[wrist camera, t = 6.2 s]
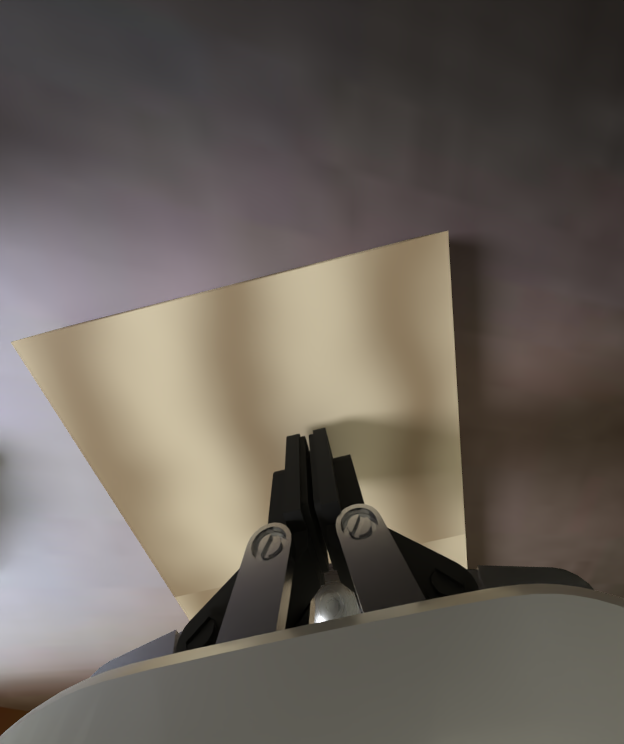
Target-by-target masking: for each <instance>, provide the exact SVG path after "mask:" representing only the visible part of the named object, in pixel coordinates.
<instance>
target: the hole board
mask: <svg viewBox="0 0 624 744" xmlns="http://www.w3.org/2000/svg"><path fill="white" fill-rule="evenodd" d="M11 343H12V345H13V346H14V348H15V350H16V351H17V353H18V354H19V356H20V357H21V359H22V360H23V362H24V364H25V365H26V367H27V368H28V370H29V371H30V373H31V374H32V376H33V378H34V379H35V381H36V382H37V384H38V385H39V387H40V388H41V390H42V392H43V393H44V395H45V396H46V398H47V399H48V401H49V402H50V404H51V406H52V407H53V409H54V410H55V412H56V413H57V415H58V416H59V418H60V419H61V421H62V423H63V424H64V426H65V427H66V429H67V430H68V432H69V433H70V435H71V437H72V438H73V440H74V441H75V443H76V444H77V446H78V447H79V449H80V451H81V452H82V454H83V455H84V457H85V458H86V460H87V461H88V463H89V465H90V466H91V468H92V469H93V471H94V472H95V474H96V475H97V477H98V479H99V480H100V482H101V483H102V485H103V486H104V488H105V489H106V491H107V493H108V494H109V496H110V497H111V499H112V500H113V502H114V503H115V505H116V507H117V508H118V510H119V511H120V513H121V514H122V516H123V517H124V519H125V521H126V522H127V524H128V525H129V527H130V528H131V530H132V531H133V533H134V535H135V536H136V538H137V539H138V541H139V542H140V544H141V545H142V547H143V549H144V550H145V552H146V553H147V555H148V556H149V558H150V559H151V561H152V563H153V564H154V566H155V567H156V569H157V570H158V572H159V573H160V575H161V577H162V578H163V580H164V581H165V583H166V584H167V586H168V587H169V589H170V591H171V592H172V594H173V595H174V597H175V598H176V600H177V601H178V603H179V605H180V606H181V608H182V609H183V611H184V612H185V614H186V615H187V617H188V619H189V620H191V619H192V618H193V617H194V616H195V615H196V614H197V613H198V612H199V611H200V610H201V609H202V607H203V606H204V605H205V604H206V603H207V602H208V601H209V600H210V599H211V598H212V597H213V596H214V595H215V594H216V593H217V592H218V591H219V590H220V589H221V587H222V586H223V585H224V584H225V583H226V582H227V581H228V580H229V579H230V578H231V577H232V576H233V575H234V574H235V573H236V572H237V571H238V570H239V569H240V565H241V562H242V559H243V556H244V553H245V550H246V547H247V544H248V542H249V540H250V538H251V536H252V535H253V534H254V533H255V532H256V531H257V530H258V529H259V528H261V527H262V526H264V525H266V524H268V516H269V507H270V498H271V488H272V479H273V473H274V472H275V471H280V470H284V469H285V454H286V437H287V436H291V435H295V434H300V436H301V437H302V436H305V437H306V440H307V444H308V447H309V435H310V434H313V430H316V429H321V428H326V432H327V436H328V440H329V443H330V447H331V451H332V455H333V458H336V457H341V456H345V455H349V454H350V455H351V458H352V462H353V465H354V469H355V472H356V476H357V479H358V483H359V486H360V490H361V493H362V497H363V500H364V504H366V505H369V506H372V507H373V508H375V509H376V510H377V511H378V512H379V514H380V515H381V517H382V519H383V520H384V522H385V524H386V526H387V528H389V529H391V530H393V531H395V532H397V533H399V534H401V535H403V536H405V537H407V538H409V539H411V540H413V541H415V542H417V543H419V544H421V545H423V546H425V547H427V548H429V549H431V550H433V551H435V552H437V553H439V554H441V555H443V556H445V557H447V558H449V559H451V560H453V561H455V562H457V563H458V564H460V565H461V566H463V567H464V568H466V569H467V553H466V535H465V518H464V500H463V483H462V466H461V448H460V431H459V413H458V396H457V378H456V361H455V344H454V326H453V309H452V291H451V274H450V256H449V239H448V231H445V232H440V233H435V234H430V235H426V236H421V237H417V238H413V239H409V240H405V241H401V242H397V243H393V244H389V245H385V246H381V247H377V248H373V249H369V250H365V251H362V252H358V253H354V254H350V255H346V256H342V257H338V258H334V259H330V260H326V261H322V262H318V263H314V264H311V265H307V266H303V267H299V268H295V269H291V270H287V271H283V272H279V273H275V274H271V275H267V276H263V277H260V278H256V279H252V280H248V281H244V282H240V283H236V284H232V285H228V286H224V287H220V288H216V289H212V290H208V291H205V292H201V293H197V294H193V295H189V296H185V297H181V298H177V299H173V300H169V301H165V302H161V303H157V304H154V305H150V306H146V307H142V308H138V309H134V310H130V311H126V312H122V313H118V314H114V315H110V316H106V317H103V318H99V319H95V320H91V321H87V322H83V323H79V324H75V325H71V326H67V327H63V328H60V329H56V330H52V331H49V332H45V333H42V334H38V335H35V336H31V337H27V338H24V339H20V340H17V341H13V342H11ZM309 451H310V448H309ZM327 552H328V550H327ZM328 561H329V564H330V563H331V560H330V557H329V553H328Z"/></svg>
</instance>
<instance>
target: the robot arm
mask: <svg viewBox="0 0 624 744" xmlns="http://www.w3.org/2000/svg"><path fill="white" fill-rule="evenodd" d="M309 448H310V451H309ZM327 550H328V552H327ZM328 553H329V557H330V560H331V563H332V566H333V569H334V571H336V570H337V573H338V576H339V579H340V583H342V584H343V585H344V586H346V587H347V588H349V589H350V590H351V591H353V592H354V595H355V598H356V601H357V604H358V607H359V611H360V614H356V615H351V616H347V617H342V618H337V619H332V620H327V621H323V622H318V623H314V618H315V598H314V596H315V595H316V593H317V592H318V590H319V589H320V587H321V585H325V576H324V573H327V572H329V561H328ZM0 744H624V598H621V597H618V596H615V595H611V594H608V593H604V592H600V591H596V590H594V589H593V588H592V587H591V586H590V585H589V584H588V583H587V582H586V581H584V580H583V579H582V578H580V577H579V576H577V575H575V574H573V573H571V572H569V571H566V570H563V569H558V568H550V567H515V566H480V565H477V569H466V568H464V567H463V566H461V565H460V564H458V563H457V562H455V561H453V560H451V559H449V558H447V557H445V556H443V555H441V554H439V553H437V552H435V551H433V550H431V549H429V548H427V547H425V546H423V545H421V544H419V543H417V542H415V541H413V540H411V539H409V538H407V537H405V536H403V535H401V534H399V533H397V532H395V531H393V530H391V529H389V528H387V526H386V524H385V522H384V520H383V519H382V517H381V515H380V514H379V512H378V511H377V510H376V509H375V508H373V507H372V506H369V505H366V504H364V500H363V497H362V493H361V490H360V486H359V483H358V479H357V476H356V472H355V469H354V465H353V462H352V458H351V455H350V454H349V455H345V456H341V457H336V458H333V455H332V451H331V447H330V443H329V440H328V436H327V432H326V428H321V429H316V430H313V434H310V435H309V447H308V444H307V440H306V437H305V436H302V437H301V436H300V434H295V435H291V436H287V437H286V454H285V469H284V470H280V471H275V472H274V473H273V479H272V488H271V498H270V507H269V516H268V524H266V525H264V526H262V527H261V528H259V529H258V530H257V531H256V532H255V533H254V534H253V535H252V536H251V538H250V540H249V542H248V544H247V547H246V550H245V553H244V556H243V559H242V562H241V565H240V569H239V570H238V571H237V572H236V573H235V574H234V575H233V576H232V577H231V578H230V579H229V580H228V581H227V582H226V583H225V584H224V585H223V586H222V587H221V589H220V590H219V591H218V592H217V593H216V594H215V595H214V596H213V597H212V598H211V599H210V600H209V601H208V602H207V603H206V604H205V605H204V606H203V607H202V609H201V610H200V611H199V612H198V613H197V614H196V615H195V616H194V617H193V618H192V619H191V620H190V621H189V623H188V624H187V625H186V627H185V628H184V630H183V631H182V632H180V633H178V632H177V630H174V631H172V632H170V633H168V634H166V635H164V636H162V637H160V638H158V639H155V640H153V641H151V642H149V643H147V644H145V645H143V646H141V647H139V648H136V649H134V650H132V651H130V652H128V653H126V654H124V655H122V656H120V657H118V658H115V659H113V660H111V661H109V662H108V663H106V664H105V665H103V666H102V667H100V668H99V669H98V670H97V671H96V672H95V673H94V674H93V675H92V676H91V677H90V678H88V679H86V680H84V681H82V682H80V683H78V684H76V685H74V686H72V687H70V688H68V689H66V690H64V691H62V692H60V693H58V694H57V695H55V696H54V697H52V698H50V699H49V700H47V701H46V702H44V703H43V704H41V705H39V706H38V707H36V708H35V709H33V710H32V711H31V712H29V713H28V714H27V715H25V716H24V717H23V718H21V719H20V720H19V721H18V722H16V723H15V724H14V725H13V726H12V727H10V728H9V729H8V730H6V732H4V733H3V734H2V736H0Z"/></svg>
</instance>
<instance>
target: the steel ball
mask: <svg viewBox="0 0 624 744" xmlns="http://www.w3.org/2000/svg"><path fill="white" fill-rule="evenodd" d="M324 576H325V585H321V587H320V589H319V590H318V592H317V593H316V595H315V596H314V598H315V618H314V623H318V622H323V621H327V620H332V619H337V618H342V617H347V616H351V615H356V614H360V611H359V607H358V604H357V601H356V598H355V595H354V592H353V591H351V590H350V589H349V588H347V587H346V586H344V585H343V584H342V583H340V579H339V576H338V573H337V570H336V571H334V569H333V566H332V563H330V564H329V572H327V573H324Z"/></svg>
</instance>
